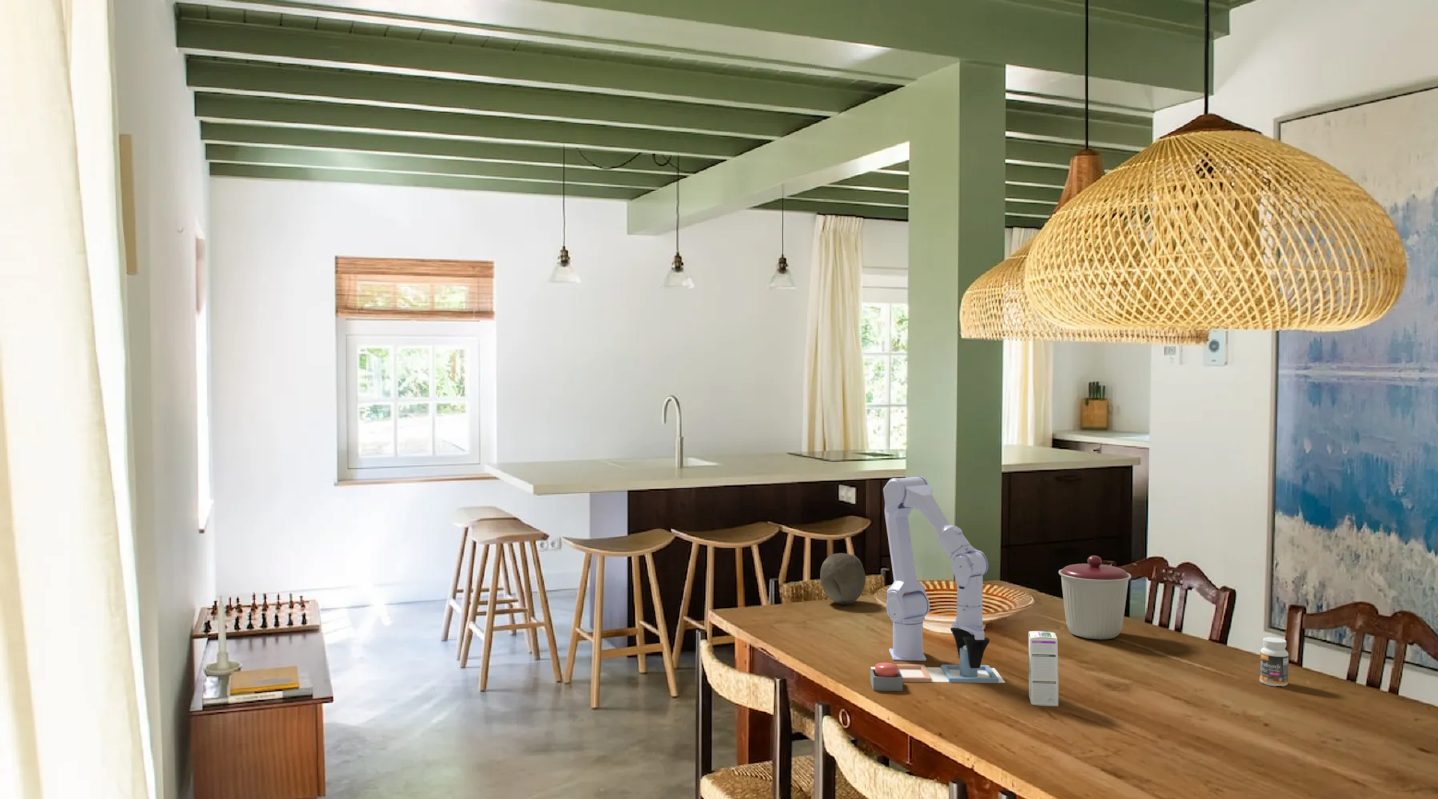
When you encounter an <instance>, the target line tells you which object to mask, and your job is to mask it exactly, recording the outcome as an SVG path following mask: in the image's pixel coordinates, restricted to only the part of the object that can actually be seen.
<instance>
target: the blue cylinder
mask: <svg viewBox="0 0 1438 799" xmlns="http://www.w3.org/2000/svg"><path fill="white" fill-rule="evenodd" d="M959 665H960V676H962V677H977V676H978V668H970V666H969V660H968V652H967V648H966V645H965V646H963V647H962V648H960V658H959Z"/></svg>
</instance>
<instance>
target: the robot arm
mask: <svg viewBox="0 0 1438 799" xmlns="http://www.w3.org/2000/svg"><path fill="white" fill-rule="evenodd" d="M882 491H883V492H882V493H883V498H884V519H885V525H886V534H887V538H888V541H887V542H888V548H889V555H890V562H891V568H892V577H893V583H892V584H891V585H890V586H889V587H888V589H887V591H886V598H887V599H886V603H885V609H886V613H887V615H888V618H889V619H890V621H891V622H892V648H888V651H889V653H890V656H891V659H892V660H893V661H917V662H918V661H919V662H920V661H921V662H923V661H924V662H925V661H927V658H926V656H925V655H926V654H924V647H923V646H924V644H923V642H924V641H923V640H924V636H923V634H924V633H923V632H924V631H923V630H924V628H923V627H924V626H923V625H924V623H923V622H924V621H925V620H926V616H927V615H928V614H929V612H930V609H931V603H930V599H929V598H928V595H927V593H926V589H925V588H926V587H925V585H924V584H922V583H921V582H920V581H919V580H917V574H916V567H915V559H914V552H913V547H912V544H913V543H912V537H911V531H910V524H909V515H910V514H911V513H912V511H913V509H914V510H918V511H919V512H920V513H921V514H922V516H923V517H924V518H925V519H926V520H927V522H928V523H929V524H930V525H931V526H932V527H933V529H934V531H936V532H937V539H936V541H937V542H938V544H939V545H940V546H941V548H942V550H943V551H944V552H945V553H946V555H947V556H948V558H949V559H950V561H951V562H952V563H951V564H950V566H951V571H952V573H953V575H954V579H955V580H954V582H955V584H956V615H955V622H951V627H950V632H951V634H952V636H953V638H954V641H955V645H956V650H957V655H958V658H959V659H960V648H962V647H963V646H965V645H966V648H967V652H968V660H969V666H970V668H980V665H982V660H983V657H984V652H985V650H986V648H987V647H988V645H989V643H990V639H989V638H988V637H985V630H984V623H983V601H984V600H983V595H984V594H983V588H984V587H983V584H984V583H983V581H984V580H983V579H984V578H983V576H984V575H985V574H987V572H988V570H989V561H988V558H987V557H986V555H985V553H984V552H983V551H981V550H978V549H976V548H975V547H973V545H971V543H970V541H968V539H967V538H966V537H965V535H964V534H963V530H962V529H961V527H959V526H957V525H951V524H950V522H949V520H948V519H947V517H946V515H945V514H944V512H943V511H942V509H941V507H940V506H939V504H938V503H937V501H936V499H935V498H934V496H933V488H932V485H930V484H929V481H928V480H927V479H926V477H924V476H921V475H918V476H909V477H900V478H898V477H895V478H894V477H893V478H890V479H889V480H888V481H887V483H886V484H885V486H884V487H883V489H882Z"/></svg>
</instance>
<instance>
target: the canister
mask: <svg viewBox="0 0 1438 799" xmlns="http://www.w3.org/2000/svg"><path fill="white" fill-rule="evenodd" d="M1102 562H1103V561H1102V558H1101V557H1100V556H1098V555H1090V556H1089V557H1088V558H1087V563H1076V564H1069V565H1066V566H1064V567H1063V568H1062V569H1059V570H1058V574H1059V576H1061V577H1060V578H1061V590H1062V598H1063V600H1062V601H1063V607H1064V615H1065V623H1066V626H1067V630H1068V631H1069V632H1070V633H1071V634H1072V635H1074V636H1077V637H1079V638H1083V639H1090V640H1109V639H1110V640H1111V639H1114V638H1116V637H1118V636H1119V635H1120V633H1121V632H1122V629H1123V623H1124V617H1125V613H1126V612H1125V609H1126V601H1127V594H1128V588H1129V587H1128V586H1129V580H1131V578H1132V575H1131V574H1130V573H1129V572H1127V571H1126V570H1125V569H1123V568H1120V567H1117V566H1113V565H1109V564H1102Z"/></svg>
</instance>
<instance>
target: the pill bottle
mask: <svg viewBox="0 0 1438 799" xmlns="http://www.w3.org/2000/svg"><path fill="white" fill-rule="evenodd" d="M1262 644H1263V647H1261V649H1260V654H1259V660H1260V661H1259V682H1260V683H1262V684H1263V685H1266V686H1270V687H1276V686H1282V687H1286V686H1288V683H1289V657H1290V656H1289V652H1288V651H1287V650H1286V648H1287V640H1285V639H1284V638H1279V637H1274V636H1273V637H1272V636H1266V637H1263V639H1262Z"/></svg>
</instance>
